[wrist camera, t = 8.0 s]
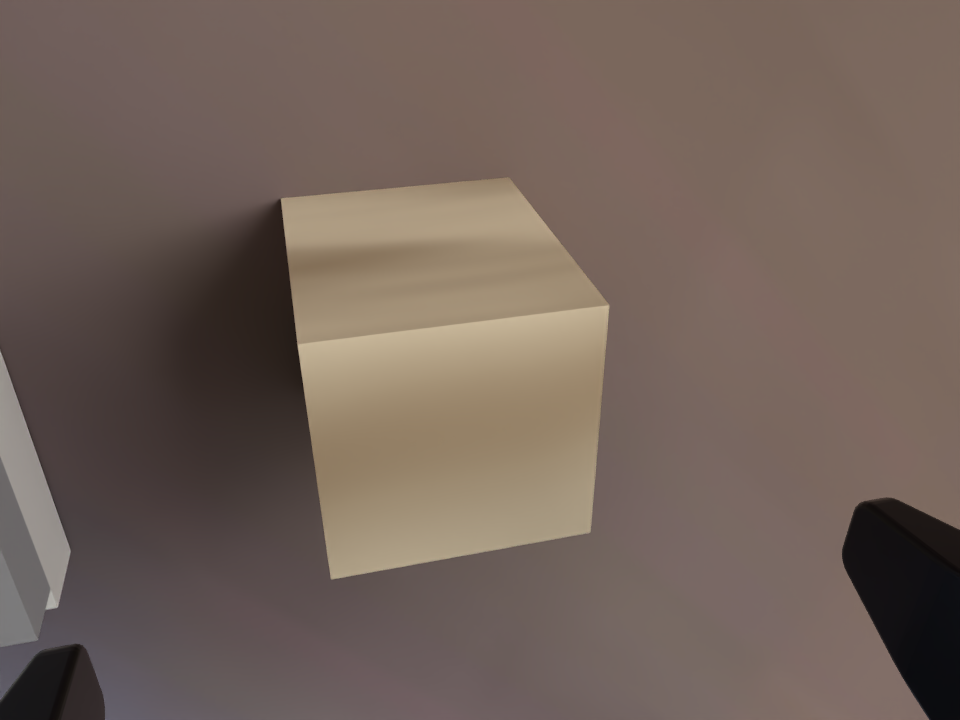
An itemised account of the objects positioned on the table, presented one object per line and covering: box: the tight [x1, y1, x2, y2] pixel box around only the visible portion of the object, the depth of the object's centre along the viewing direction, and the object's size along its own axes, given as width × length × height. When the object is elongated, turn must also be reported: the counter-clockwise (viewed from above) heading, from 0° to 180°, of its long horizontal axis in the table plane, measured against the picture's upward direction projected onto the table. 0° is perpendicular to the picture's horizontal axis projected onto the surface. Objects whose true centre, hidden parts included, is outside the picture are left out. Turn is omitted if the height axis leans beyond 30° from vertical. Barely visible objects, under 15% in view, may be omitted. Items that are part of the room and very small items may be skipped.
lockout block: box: [281, 177, 609, 579], centre depth 14 cm, size 4×4×5 cm
